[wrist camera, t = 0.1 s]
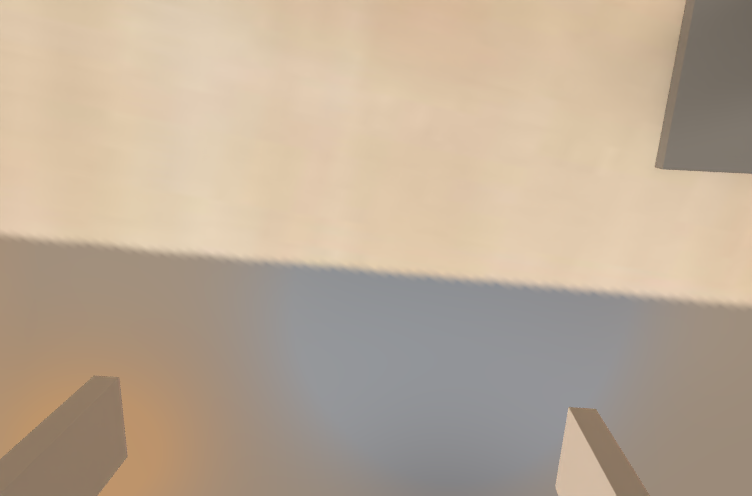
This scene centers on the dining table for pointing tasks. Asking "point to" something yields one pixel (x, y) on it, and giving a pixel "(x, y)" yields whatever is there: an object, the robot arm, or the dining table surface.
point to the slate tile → (710, 91)
